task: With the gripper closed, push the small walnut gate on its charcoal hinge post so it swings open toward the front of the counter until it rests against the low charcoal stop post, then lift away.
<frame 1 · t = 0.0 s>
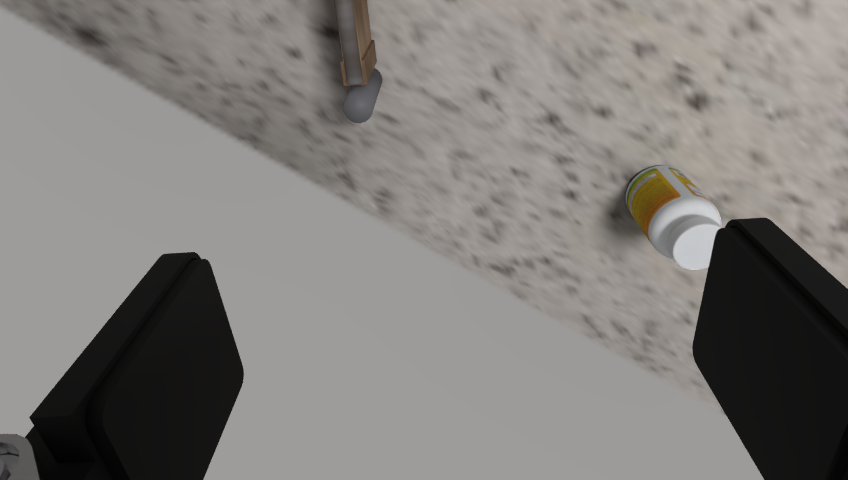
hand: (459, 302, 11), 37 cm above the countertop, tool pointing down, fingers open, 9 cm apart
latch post: (369, 79, 45), on the countertop
supplement bottle: (654, 191, 50), on the countertop
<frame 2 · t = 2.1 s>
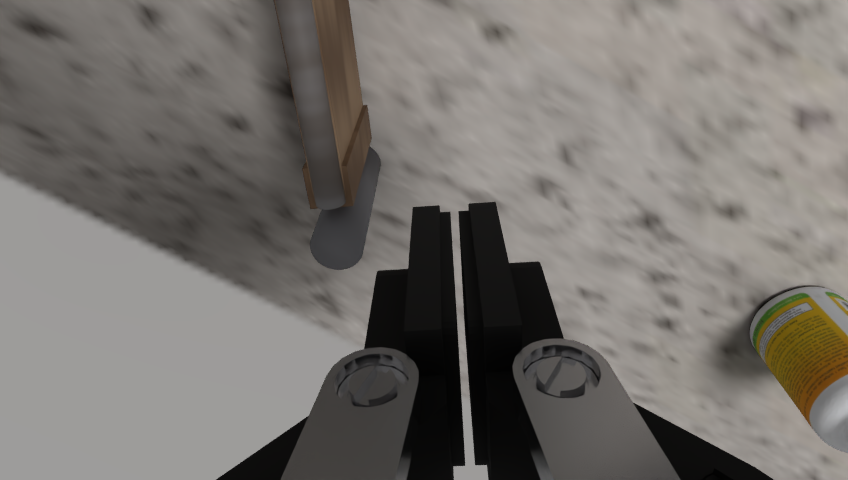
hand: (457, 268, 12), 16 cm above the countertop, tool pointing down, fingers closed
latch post: (360, 163, 28), on the countertop
supplement bottle: (793, 318, 33), on the countertop
gate: (323, 45, 21), point 4 cm above the countertop, hinge at 0.0°
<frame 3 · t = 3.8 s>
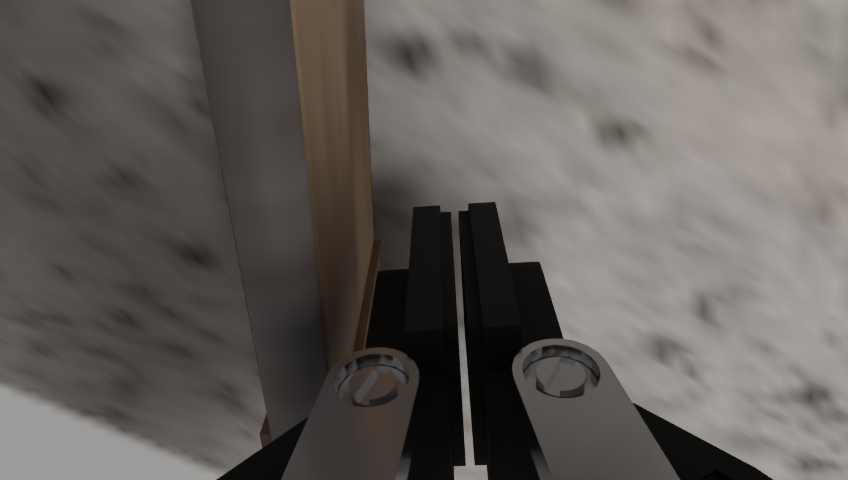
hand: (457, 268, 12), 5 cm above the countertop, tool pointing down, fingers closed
gate: (319, 182, 11), point 4 cm above the countertop, hinge at -4.0°, touching gripper
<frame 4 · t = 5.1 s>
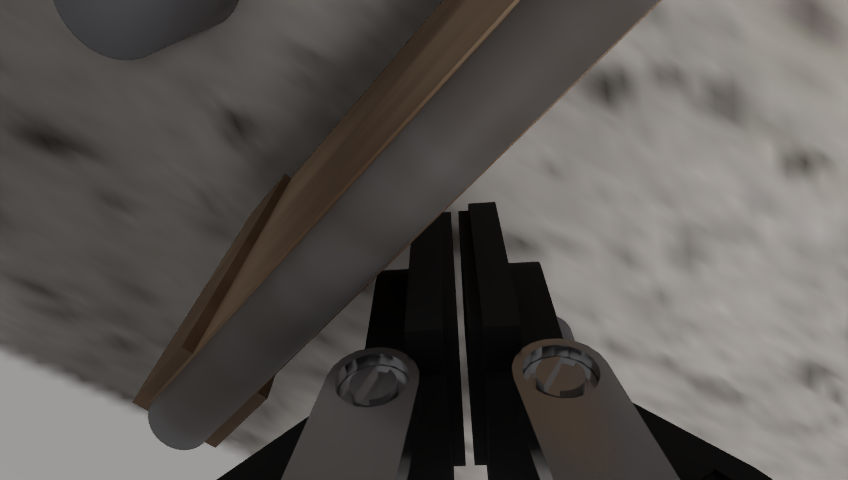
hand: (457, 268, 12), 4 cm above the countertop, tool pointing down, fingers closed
gate: (382, 149, 10), point 4 cm above the countertop, hinge at -45.5°, touching gripper
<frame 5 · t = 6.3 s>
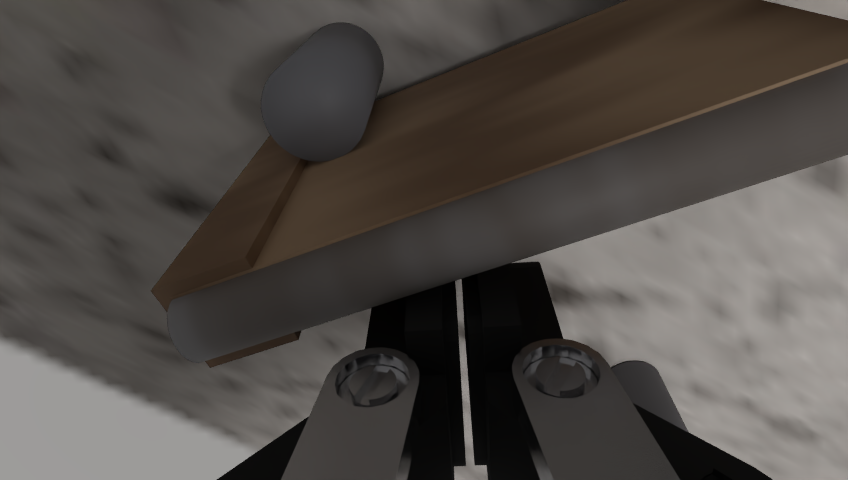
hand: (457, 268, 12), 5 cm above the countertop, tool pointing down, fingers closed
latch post: (630, 383, 19), on the countertop
gate: (480, 142, 10), point 4 cm above the countertop, hinge at -71.3°, touching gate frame, gripper
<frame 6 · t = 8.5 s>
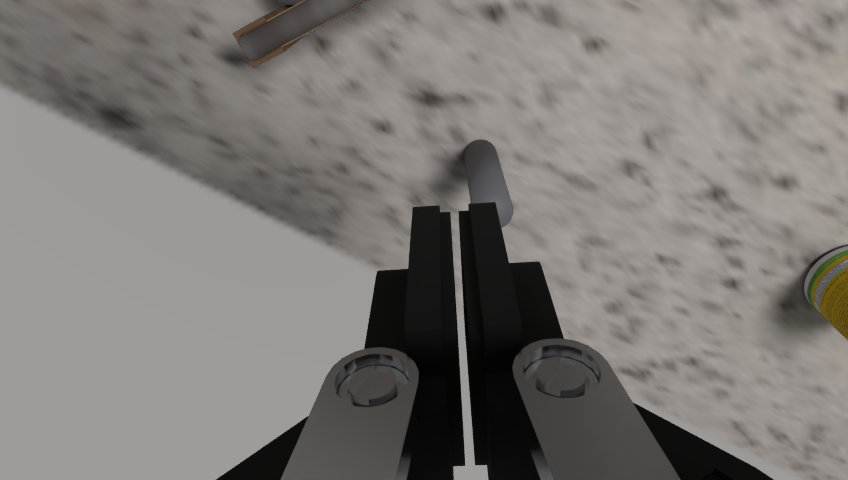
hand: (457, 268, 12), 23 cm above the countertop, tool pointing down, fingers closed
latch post: (480, 155, 34), on the countertop
supplement bottle: (840, 275, 38), on the countertop
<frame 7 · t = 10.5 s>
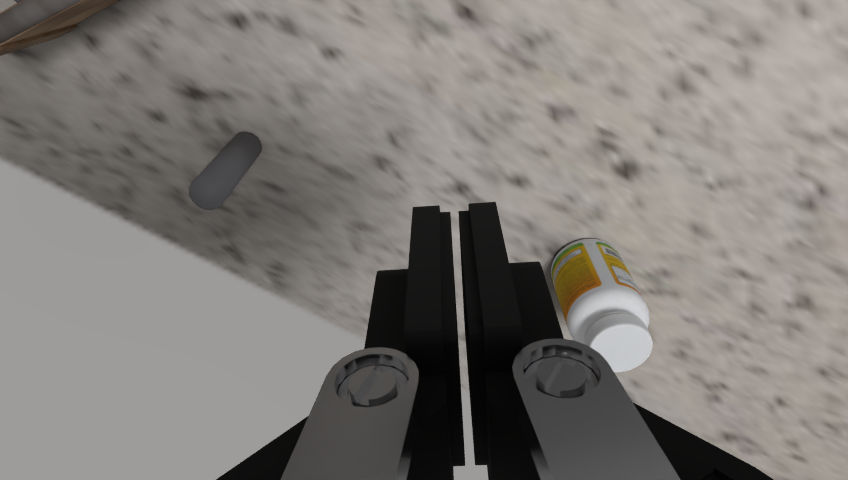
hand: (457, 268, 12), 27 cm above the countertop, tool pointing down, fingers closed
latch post: (247, 145, 39), on the countertop
supplement bottle: (583, 265, 44), on the countertop
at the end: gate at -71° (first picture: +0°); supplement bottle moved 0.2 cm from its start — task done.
